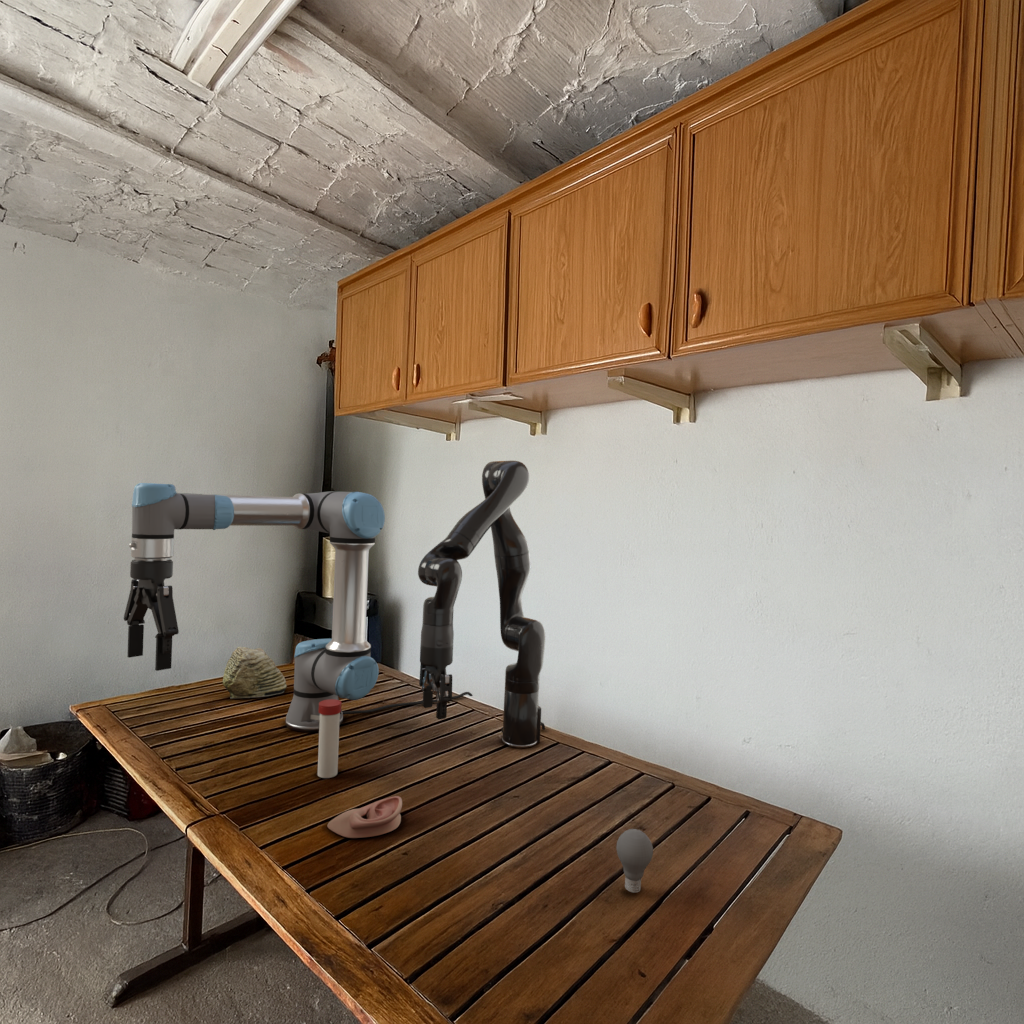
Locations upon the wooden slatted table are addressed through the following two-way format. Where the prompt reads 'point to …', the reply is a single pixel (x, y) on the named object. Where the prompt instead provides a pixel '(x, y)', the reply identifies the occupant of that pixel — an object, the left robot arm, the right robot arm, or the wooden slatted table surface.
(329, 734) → the white bottle
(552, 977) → the wooden slatted table surface
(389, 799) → the anatomical model
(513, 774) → the wooden slatted table surface
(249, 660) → the fossil
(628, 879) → the light bulb
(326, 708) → the lid
